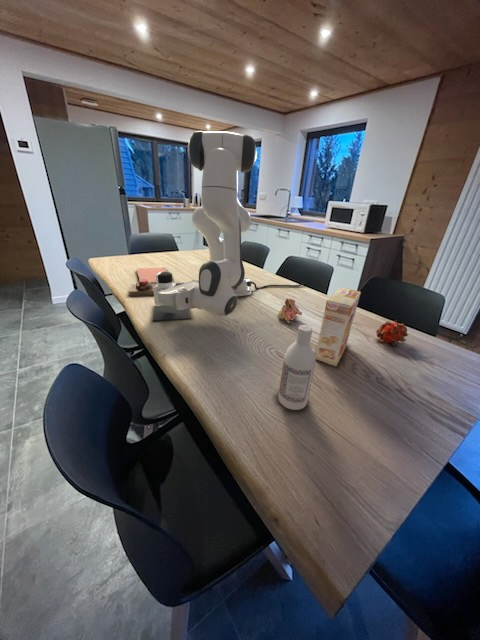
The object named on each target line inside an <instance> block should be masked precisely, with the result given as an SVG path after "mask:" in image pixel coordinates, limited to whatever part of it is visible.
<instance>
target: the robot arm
mask: <svg viewBox="0 0 480 640" xmlns="http://www.w3.org/2000/svg"><path fill="white" fill-rule="evenodd" d="M187 155H188V159H189V161H190V164H191V165H192V166H193V168H195V169H198V171H200V172H202V177H201V193H200V196H201V197H200V201H201V206H197V207H195V209H194V211H193V212H192V216H191V221H192V224H193V227H194V228H195V229H196V230H197V231H198V232H199V233H200V234H201V235H202V236H203V238H204V239H205V241H206V243H207V247H208V259H209V260H208V261H205V262H203V263H202V264H201V266H200V268H199V271H198V279H193V280H191V281H185V282H184V281H183V282H182V281H178V282H175V283H176V285H177V286H175V287H172V288H169V289H166V290H164V288H159V289H158V301H159V302H160V303H162V304H164V305H167V306H171V307H176V309H177V310H184V309H189V310H191V309H197V310H204V311H205V312H207V313H210V314H212V315H213V314H214V315H218V316H228V315H230V314H231V313H233V311H234V310H235V309H236V307H237V303H238V298H239V297H246V296H251V295H252V288H250V287H252V285H254V286H253V287H254V289H256V290H261V289H265V288H270V287H282V288H283V287H287V288H289V287H290V288H296V287H301V286H303V285H304V286H307V284H306V282H302V283H300V284H267V285H264V286H261V287H257V284H256V282H254V281H252V280H250V279H249V278H245V277H246V276H245V275H246V272H245V267H244V264H243V263H244V262H243V260H242V259H243V258H242V256H243V255H242V233H246V232H247V231H249V229H250V228H251V225H252V217H251V214H250V212H249V210H248V209H247V208H245V207H244V206H243V205H242V203H241V202H240V201H239V198H238V193H239V192H238V191H239V190H238V189H239V174H238V173H239V172H240V174H243V173H249V172H250V171H251V170H253V168H254V165H255V163H256V161H257V157H258V156H257V155H258V151H257V146H256V141H255V139H254V137H253V136H250V135H248V134H245V133H244V134H240V133H237V132H236V133H235V132H230V131H203V130H198V131H193V133H191V135H190V136H189V139H188V144H187ZM221 234H222V237H221Z"/></svg>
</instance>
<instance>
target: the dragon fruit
mask: <svg viewBox="0 0 480 640" xmlns="http://www.w3.org/2000/svg"><path fill="white" fill-rule="evenodd" d="M375 333H376V337H377V338H378V340H377V342H380V343H383V344H387V343H390V344H391V346H395V345H396V346H397V344H398V342H400V343H405V342H406V337H408V328H407V326H406V325H405V324H404V323H399V322H398V321H397V320H394V321H393V322H391V321H390V320H388V321H386V322H385V323H382V324H380V325H379V328H378V329H376V331H375Z"/></svg>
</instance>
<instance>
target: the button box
mask: <svg viewBox="0 0 480 640" xmlns="http://www.w3.org/2000/svg"><path fill="white" fill-rule="evenodd" d="M156 285H157V284H151V282H148V285H139V281H137V282H136V283H133V284H131V285H130V288H129V290H128V293H129V296H130V297H139V296H154V292H153V287H155V286H156Z"/></svg>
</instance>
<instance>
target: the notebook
mask: <svg viewBox="0 0 480 640" xmlns="http://www.w3.org/2000/svg"><path fill="white" fill-rule="evenodd" d="M159 272H169V271H168V269H167V268H166V267H164V266H162V267H161V266H159V267H144V268H143V267H141V268H136V274H137V278H138V281H139V280H141V279H147V280H148V282H151V284H157V282H156V274H157V273H159ZM174 281H175V280H174V278H173V282H174Z"/></svg>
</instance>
